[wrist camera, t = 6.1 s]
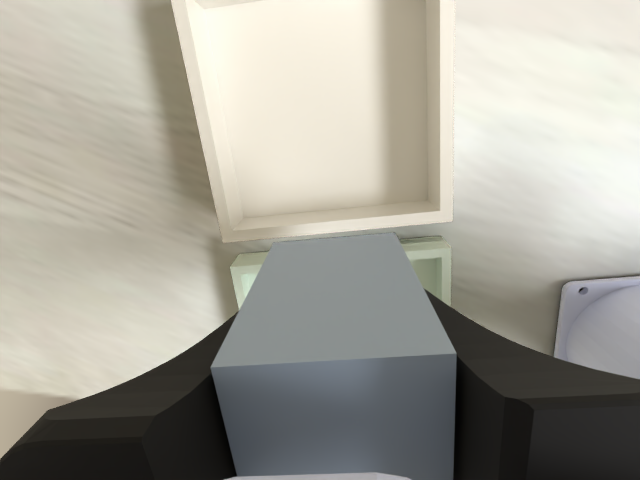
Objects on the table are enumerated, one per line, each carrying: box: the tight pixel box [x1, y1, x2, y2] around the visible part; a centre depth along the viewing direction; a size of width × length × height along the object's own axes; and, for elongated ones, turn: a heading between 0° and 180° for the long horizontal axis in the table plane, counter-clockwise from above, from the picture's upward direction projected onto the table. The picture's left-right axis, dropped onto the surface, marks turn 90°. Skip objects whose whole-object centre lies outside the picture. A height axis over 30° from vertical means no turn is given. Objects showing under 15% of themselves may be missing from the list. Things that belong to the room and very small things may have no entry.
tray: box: [230, 236, 452, 310], centre depth 22 cm, size 12×10×2 cm
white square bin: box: [171, 0, 455, 243], centre depth 17 cm, size 12×12×3 cm
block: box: [210, 232, 457, 480], centre depth 10 cm, size 4×4×7 cm
